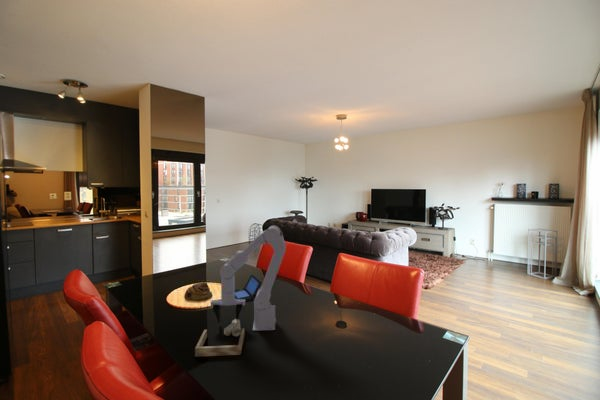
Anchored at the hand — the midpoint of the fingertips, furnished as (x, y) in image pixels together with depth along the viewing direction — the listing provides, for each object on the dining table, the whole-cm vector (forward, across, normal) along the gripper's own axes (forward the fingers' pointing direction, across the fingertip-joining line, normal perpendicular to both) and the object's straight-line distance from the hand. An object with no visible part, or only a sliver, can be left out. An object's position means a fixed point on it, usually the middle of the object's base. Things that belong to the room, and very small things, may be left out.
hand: (228, 321), depth 121 cm
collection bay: (+2, 0, +14) cm, 15 cm away
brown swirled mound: (+2, +22, -34) cm, 41 cm away
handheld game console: (+2, -4, -33) cm, 33 cm away
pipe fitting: (+2, -3, +6) cm, 7 cm away
